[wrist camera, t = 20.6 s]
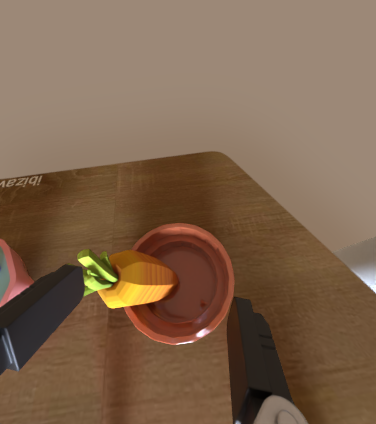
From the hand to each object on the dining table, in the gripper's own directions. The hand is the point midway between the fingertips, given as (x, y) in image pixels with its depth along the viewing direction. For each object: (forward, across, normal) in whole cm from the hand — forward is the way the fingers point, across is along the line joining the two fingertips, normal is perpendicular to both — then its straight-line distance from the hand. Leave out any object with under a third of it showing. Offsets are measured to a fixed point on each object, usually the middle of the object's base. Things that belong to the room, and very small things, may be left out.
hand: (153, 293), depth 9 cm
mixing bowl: (+13, 0, +10) cm, 17 cm away
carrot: (+13, 0, +10) cm, 16 cm away
